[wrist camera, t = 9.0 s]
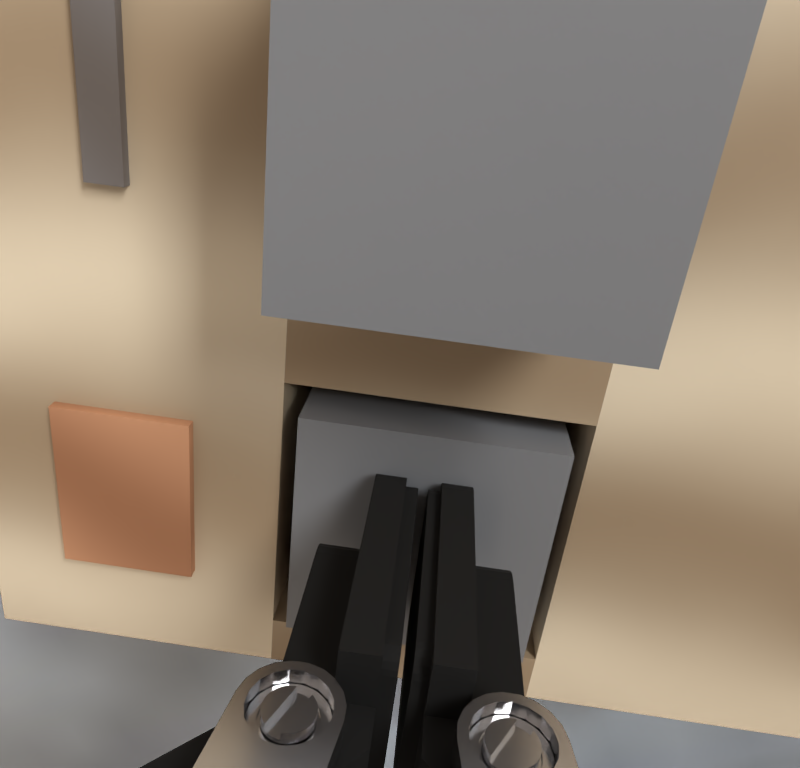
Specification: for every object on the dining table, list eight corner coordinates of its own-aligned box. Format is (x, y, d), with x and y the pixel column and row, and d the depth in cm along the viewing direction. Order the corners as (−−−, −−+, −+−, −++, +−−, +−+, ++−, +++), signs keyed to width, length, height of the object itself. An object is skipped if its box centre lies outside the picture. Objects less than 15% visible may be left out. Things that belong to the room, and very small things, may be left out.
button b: (347, -85, 10) (275, -175, 6) (671, -47, 9) (800, -115, 6) (325, 235, 11) (260, 314, 8) (597, 271, 11) (658, 370, 8)
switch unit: (-14, -870, 9) (-368, -1557, 5) (1278, -757, 8) (1938, -1423, 5) (98, 505, 18) (-2, 625, 14) (733, 597, 17) (808, 747, 14)
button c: (339, 331, 15) (298, 418, 11) (547, 359, 15) (574, 456, 11) (325, 504, 17) (285, 626, 13) (509, 531, 17) (522, 662, 13)
